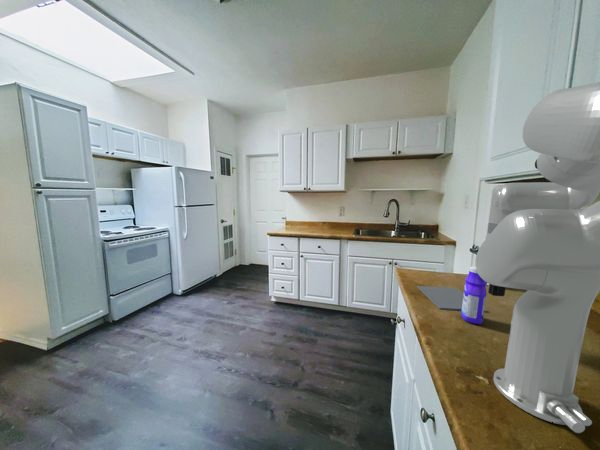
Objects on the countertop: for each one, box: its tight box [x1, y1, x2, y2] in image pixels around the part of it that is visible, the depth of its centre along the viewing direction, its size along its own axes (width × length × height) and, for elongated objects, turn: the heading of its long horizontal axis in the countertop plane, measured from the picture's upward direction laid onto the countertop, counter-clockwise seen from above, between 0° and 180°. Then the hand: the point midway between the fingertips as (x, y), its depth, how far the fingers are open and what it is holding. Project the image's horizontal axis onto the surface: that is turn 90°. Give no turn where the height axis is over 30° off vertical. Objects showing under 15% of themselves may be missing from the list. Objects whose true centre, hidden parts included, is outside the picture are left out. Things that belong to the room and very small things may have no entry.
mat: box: [416, 285, 489, 313], centre depth 92 cm, size 20×16×1 cm
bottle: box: [460, 265, 487, 325], centre depth 75 cm, size 7×6×17 cm
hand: (496, 294), depth 66 cm, fingers closed
